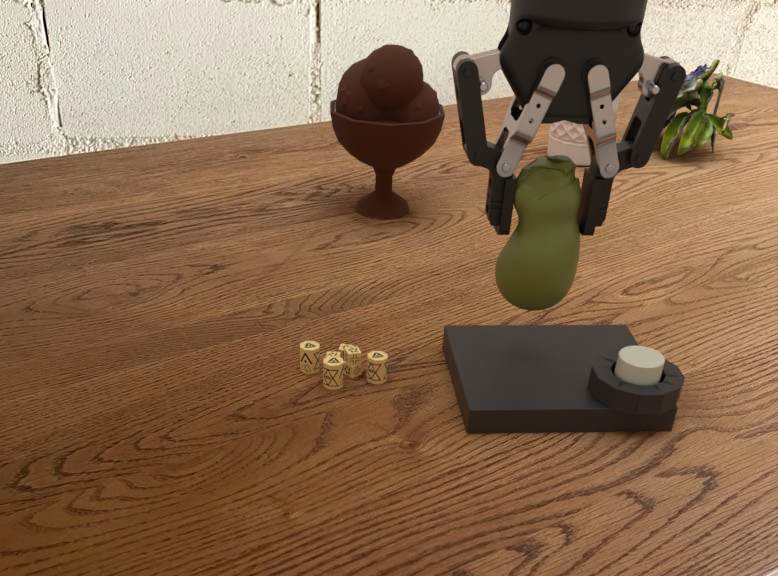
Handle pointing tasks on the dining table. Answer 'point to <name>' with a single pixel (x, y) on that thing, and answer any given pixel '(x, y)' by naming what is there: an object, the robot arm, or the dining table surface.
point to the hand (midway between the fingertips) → (543, 229)
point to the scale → (553, 380)
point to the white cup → (572, 139)
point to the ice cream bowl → (386, 121)
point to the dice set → (342, 364)
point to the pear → (542, 236)
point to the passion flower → (696, 113)
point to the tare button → (639, 365)
